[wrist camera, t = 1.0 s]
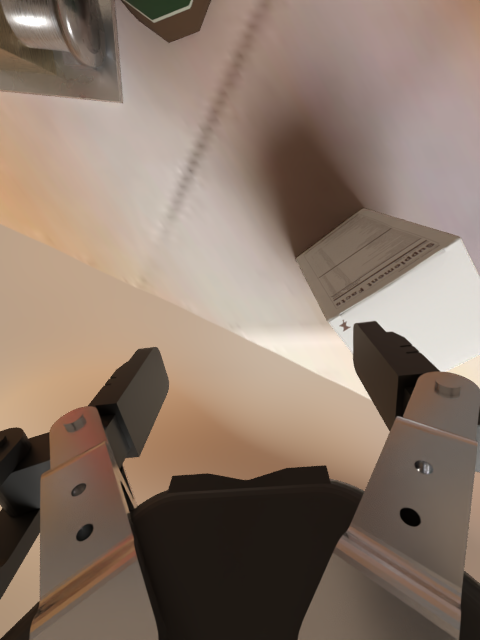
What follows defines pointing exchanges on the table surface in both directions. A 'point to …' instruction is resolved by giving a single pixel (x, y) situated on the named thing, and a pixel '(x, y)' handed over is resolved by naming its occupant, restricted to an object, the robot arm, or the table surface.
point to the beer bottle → (170, 16)
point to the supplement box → (398, 285)
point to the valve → (60, 49)
